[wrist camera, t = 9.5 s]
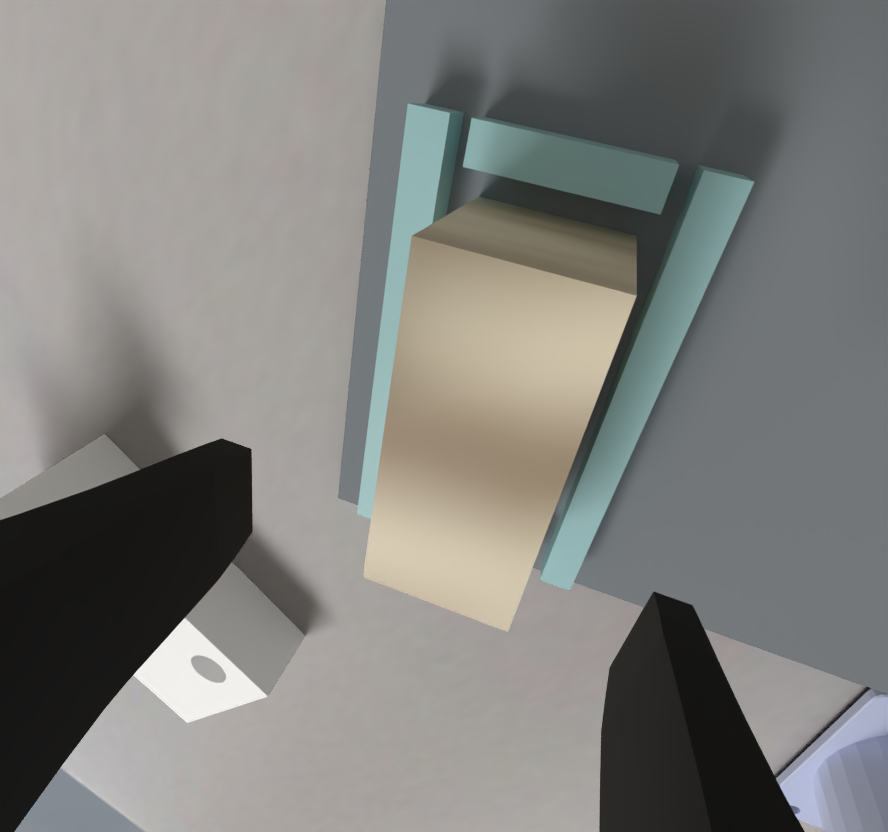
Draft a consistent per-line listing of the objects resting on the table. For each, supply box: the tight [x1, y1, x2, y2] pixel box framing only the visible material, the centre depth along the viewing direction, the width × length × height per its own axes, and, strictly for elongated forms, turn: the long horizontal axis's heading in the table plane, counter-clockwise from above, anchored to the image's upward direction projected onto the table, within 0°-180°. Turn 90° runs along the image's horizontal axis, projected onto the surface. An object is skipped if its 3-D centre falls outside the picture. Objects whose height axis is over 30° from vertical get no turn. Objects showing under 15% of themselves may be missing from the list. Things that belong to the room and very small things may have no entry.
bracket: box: [0, 434, 305, 723], centre depth 24 cm, size 13×7×8 cm, turn 40°
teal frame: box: [357, 103, 754, 591], centre depth 15 cm, size 8×12×1 cm, turn 169°
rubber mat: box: [338, 0, 888, 694], centre depth 14 cm, size 20×21×1 cm
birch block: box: [363, 197, 637, 632], centre depth 14 cm, size 9×4×5 cm, turn 169°
